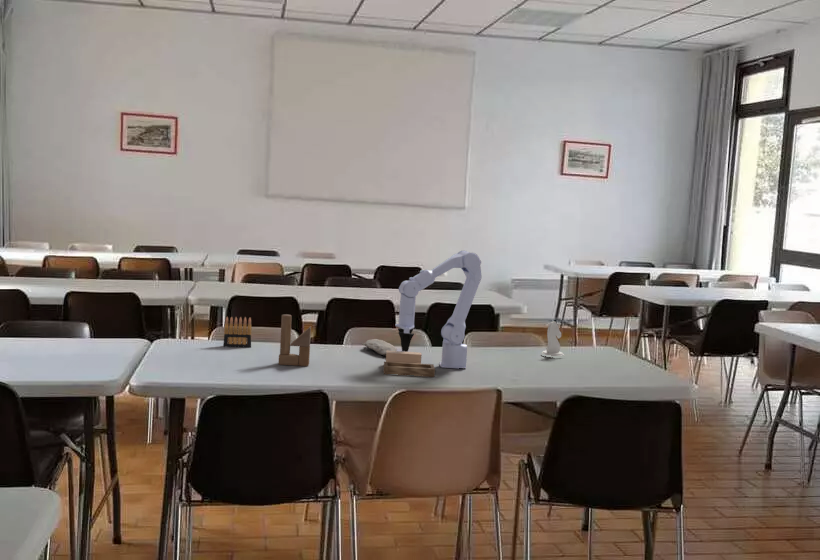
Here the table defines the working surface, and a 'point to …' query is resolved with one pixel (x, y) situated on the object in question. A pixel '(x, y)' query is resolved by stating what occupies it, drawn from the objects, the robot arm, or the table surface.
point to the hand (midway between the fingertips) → (404, 349)
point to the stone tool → (379, 346)
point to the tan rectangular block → (403, 357)
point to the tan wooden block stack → (293, 344)
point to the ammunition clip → (237, 333)
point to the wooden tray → (409, 369)
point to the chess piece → (553, 340)
